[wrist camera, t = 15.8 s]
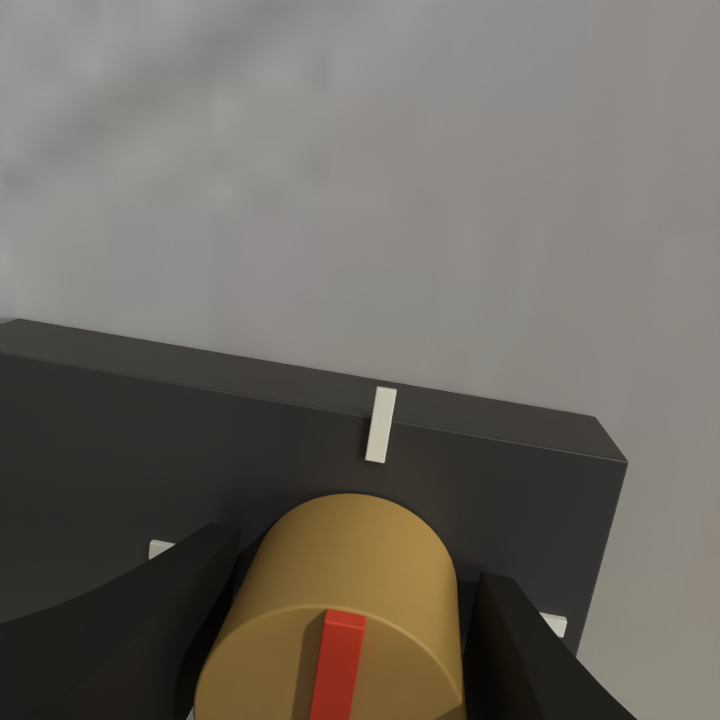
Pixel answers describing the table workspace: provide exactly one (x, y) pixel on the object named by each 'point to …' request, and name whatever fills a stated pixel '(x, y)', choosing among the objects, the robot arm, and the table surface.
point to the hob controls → (279, 467)
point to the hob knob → (340, 622)
